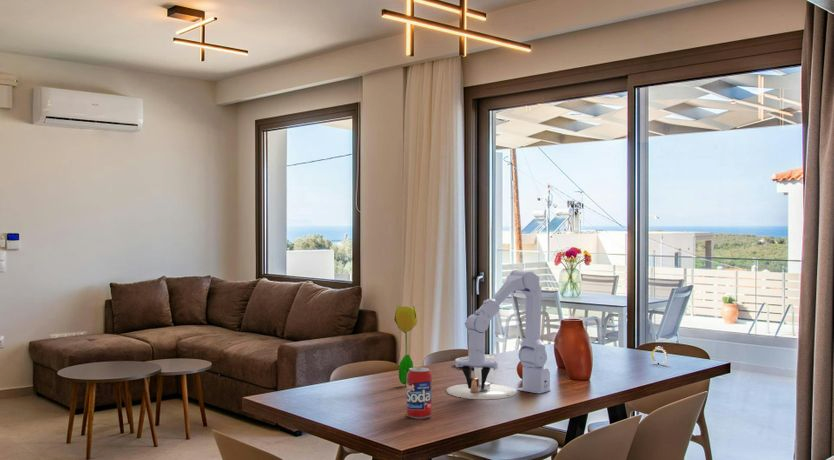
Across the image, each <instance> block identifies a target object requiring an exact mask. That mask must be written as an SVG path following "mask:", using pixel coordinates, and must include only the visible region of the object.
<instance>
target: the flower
mask: <svg viewBox="0 0 834 460" xmlns="http://www.w3.org/2000/svg"><path fill="white" fill-rule="evenodd" d="M393 320H394V322H395V324H396V326H397V327H398V329H399V330H400V331H401V332H402V333H404V335H405V336H404V337H405V355H404V356H403V357H402V359H401V360H400V362H399V364H398V378H399V382H400V383H401V384H403V385H404V387H407V373H408V372H409V369H410V368H414V362H413V360H412V357H411V356H410V354H407V353H408V352H407V349H408V348H407V345H408V332H411V331H412V330H413V329H414V327H415V326H416V325H417V323H418V315H417V312H416V308H415V306H410V307H409V306H406V305H405V306H400V305H397V306H396V308H395V313H394V319H393Z"/></svg>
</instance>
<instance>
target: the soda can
mask: <svg viewBox="0 0 834 460" xmlns="http://www.w3.org/2000/svg"><path fill="white" fill-rule="evenodd" d="M432 406H433V374H432V373H431V369H430V368H428V367H419V366H417V367H413V368H410V369H409V372H408V373H407V384H406V415H407V416H408V417H409V418H411V419H413V418H414V420H425V419H428V418H430V417H431V416H432V415H433V414H432V413H433V407H432Z"/></svg>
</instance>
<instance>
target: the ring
mask: <svg viewBox="0 0 834 460" xmlns="http://www.w3.org/2000/svg"><path fill="white" fill-rule="evenodd" d="M657 351H662V352H663V354H664V357H665V358H664V360H663V361H662V362H663V363H664V364H665V363H666V362H667V361H668V356H669V355H668V352H667V350H665V349H664V347H662V346H661V345H660V346H659V345H658V346H655V348H654V349H653V350H652V351H651V353H650V356H651V359H652V361H653V362H654V361H657V360H656V359H655V352H657Z"/></svg>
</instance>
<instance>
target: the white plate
mask: <svg viewBox="0 0 834 460" xmlns="http://www.w3.org/2000/svg"><path fill="white" fill-rule="evenodd" d="M446 393H447V394H448V395H450V396H452V395H453V397H456V398H460V397H461V399H468V400H482V401H483V400H484V401H485V400H486V401H488V400H501V399H502V400H503V399H507V398H512V397H514V396H516V394H517V390H516V389H515V388H513V387H510V386H506V385H501V384H495V383H490V389H489V390H480V391H479V393H477V394H472V393H470V389H468V384H467V383H462V384H456V385H452V386H449V387H447V388H446Z"/></svg>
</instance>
